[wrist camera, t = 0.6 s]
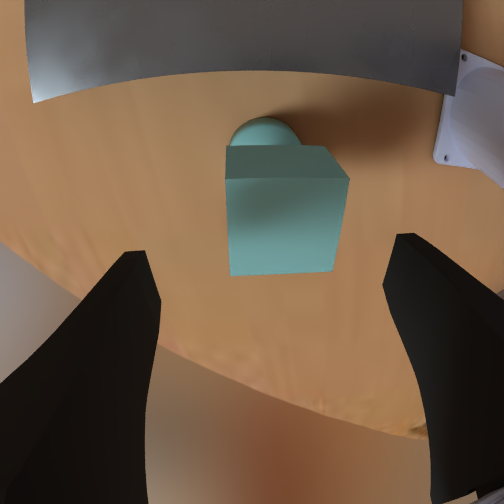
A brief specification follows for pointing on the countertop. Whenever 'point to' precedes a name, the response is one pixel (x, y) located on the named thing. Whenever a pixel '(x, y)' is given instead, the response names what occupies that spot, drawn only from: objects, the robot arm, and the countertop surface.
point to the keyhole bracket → (240, 40)
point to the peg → (281, 201)
